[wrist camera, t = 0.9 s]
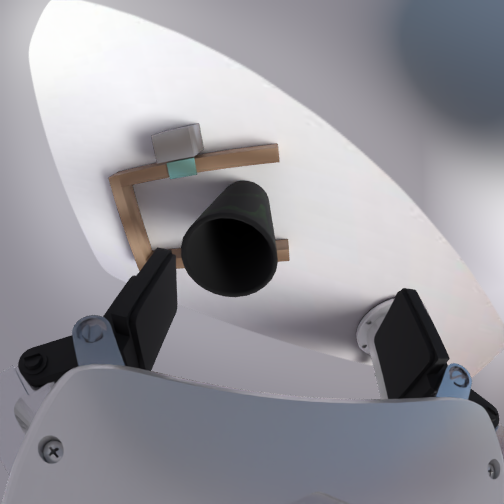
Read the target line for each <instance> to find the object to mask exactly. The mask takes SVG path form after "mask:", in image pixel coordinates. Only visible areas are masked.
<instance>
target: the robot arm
mask: <svg viewBox="0 0 504 504" xmlns="http://www.w3.org/2000/svg"><path fill="white" fill-rule="evenodd" d="M176 311H177V283H176V255H175V254H172V251H171V250H168V249H162V248H157V249H156V250H155V251H154V253H153V254H152V255H151V257H150V258H149V259H148V261H147V262H146V263H145V265H144V266H143V267H142V269H141V270H140V272H139V273H138V274H137V276H135V275H134V276H132V277H131V278H130V279H129V281H128V282H127V283H126V285H125V286H124V288H123V289H122V290H121V292H120V293H119V295H118V296H117V297H116V299H115V300H114V302H113V303H112V305H111V306H110V308H109V309H108V310H107V312H106V313H105V315H104V316H103V317H102V316H98V315H91V316H86V317H84V318H82V319H80V320H79V321H77V323H76V324H75V325H74V327H73V330H72V336H68V337H65V338H62V339H59V340H56V341H52V342H49V343H46V344H43V345H40V346H37V347H33V348H31V349H28V350H27V351H26V352H24V353H23V354H22V356H21V357H20V360H19V364H18V366H17V367H16V368H14V366H11V367H10V368H8V369H6V370H5V371H3V372H2V373H0V460H1V462H2V464H3V466H4V467H5V469H6V471H7V473H8V474H9V479H8V482H7V486H6V489H5V493H4V496H3V501H2V504H504V426H503V425H502V424H500V425H498V424H499V415H498V411H497V409H496V408H495V407H494V406H493V405H492V404H490V403H489V402H488V401H486V400H485V399H484V398H482V397H481V396H480V395H478V394H477V393H476V392H474V391H473V390H472V389H471V385H472V379H471V376H470V374H469V372H468V371H467V370H466V369H465V368H464V367H463V366H461V365H459V364H456V363H453V364H450V365H447V361H448V360H449V359H450V358H449V356H448V354H447V351H446V349H445V347H444V345H443V343H442V340H441V338H440V336H439V334H438V332H437V330H436V328H435V326H434V324H433V322H432V320H431V318H430V316H429V313H428V310H427V308H426V306H425V305H424V304H423V302H422V301H421V299H420V297H419V295H418V293H417V292H416V290H413V289H406V288H403V289H402V290H401V291H399V292H398V293H397V295H396V297H395V298H394V299H390V300H388V301H385V302H383V303H381V304H379V305H378V306H376V307H375V308H373V309H372V310H370V311H369V312H368V313H367V314H366V315H365V316H364V318H363V319H362V320H361V322H360V324H359V325H358V328H357V332H356V338H357V343H358V345H359V347H360V348H361V349H362V351H364V352H365V353H367V354H370V355H371V358H372V362H373V367H374V371H375V376H376V379H377V384H378V389H379V393H380V398H381V399H332V398H315V397H300V396H291V395H281V394H272V393H264V392H256V391H249V390H242V389H236V388H230V387H224V386H219V385H213V384H208V383H203V382H198V381H193V380H188V379H184V378H179V377H174V376H170V375H166V374H162V373H158V372H153V371H151V370H152V367H153V365H154V362H155V360H156V358H157V355H158V353H159V351H160V348H161V346H162V343H163V341H164V339H165V337H166V334H167V332H168V330H169V327H170V325H171V323H172V321H173V318H174V316H175V314H176Z"/></svg>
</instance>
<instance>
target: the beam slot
mask: <svg viewBox="0 0 504 504" xmlns="http://www.w3.org/2000/svg"><path fill="white" fill-rule="evenodd" d="M151 138H152V143H153V147H154V152H155V156H156V161H157V163H154V164H149V165H145V166H140V167H136V168H132V169H128V170H124V171H120V172H117V173H116V174H114V175H112V176H111V177H109V182H110V186H111V189H112V192H113V196H114V199H115V202H116V206H117V209H118V212H119V215H120V218H121V221H122V224H123V227H124V230H125V233H126V236H127V239H128V242H129V244H130V247H131V250H132V253H133V255H134V258H135V261H136V263H137V266H138V269H139V271H140V270H141V269H142V267H143V266H144V265H145V263H146V262H147V261H148V259H149V258H150V257H151V255H152V254H153V253H154V251H152V248H151V245H150V242H149V239H148V236H147V233H146V230H145V227H144V223H143V220H142V217H141V214H140V210H139V207H138V204H137V200H136V197H135V193H134V189H133V186H132V185H134V184H139V183H143V182H148V181H153V180H158V179H163V178H169V177H170V179H174V178H180V177H186V176H192V175H197V173H198V172H204V171H211V170H218V169H225V168H232V167H240V166H248V165H256V164H266V163H275V162H279V151H278V144H271V145H262V146H254V147H246V148H238V149H231V150H224V151H217V152H211V153H205V154H199V155H197V154H198V153H199V152H201V151H202V150H204V147H203V142H202V136H201V131H200V125H199V124H194V125H189V126H184V127H180V128H175V129H171V130H167V131H163V132H160V133H157V134H155V135H152V136H151ZM275 242H276V248H277V257H278V262H280V261H289V245H288V239H284V240H275ZM168 250H171V251H172V254H175V255H176V269H179V268H185V267H184V265H183V261H182V258H181V248H178V249H168Z"/></svg>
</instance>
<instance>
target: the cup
mask: <svg viewBox="0 0 504 504" xmlns="http://www.w3.org/2000/svg"><path fill="white" fill-rule="evenodd" d="M181 258H182V261H183V265H184V267H185V269H186V271H187V272H188V274H189V276H190V277H191V278H192V279H193V280H194V281H195V282H196V283H197V284H198V285H200V286H201V287H202V288H204V289H205V290H208V291H210V292H212V293H214V294H218V295H222V296H226V297H240V296H247V295H250V294H252V293H255V292H257V291H259V290H260V289H262V288H263V287H265V286H266V285H267V284H268V282H269V281H270V280H271V279H272V277H273V275H274V273H275V271H276V268H277V262H278V257H277V248H276V242H275V236H274V229H273V223H272V217H271V211H270V205H269V199H268V196H267V194H266V192H265V191H264V190H263V189H262V188H261V187H260V186H259V185H257V184H255V183H253V182H250V181H239V182H235V183H233V184H231V185H230V186H229V187H227V188H226V189H225V190H224V191H223V192H222V193H221V194H220V196H219V197H218V198H217V199H216V200H215V201H214V202H213V203H212V204H211V205H210V206H209V207H208V208H207V209H206V210H205V211H204V212H203V214H202V215H201V216H200V217H199V218H198V219H197V220H196V221H195V222H194V223H193V224H192V225H191V227H190V228H189V229H188V231H187V232H186V234H185V236H184V237H183V241H182V245H181Z"/></svg>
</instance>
